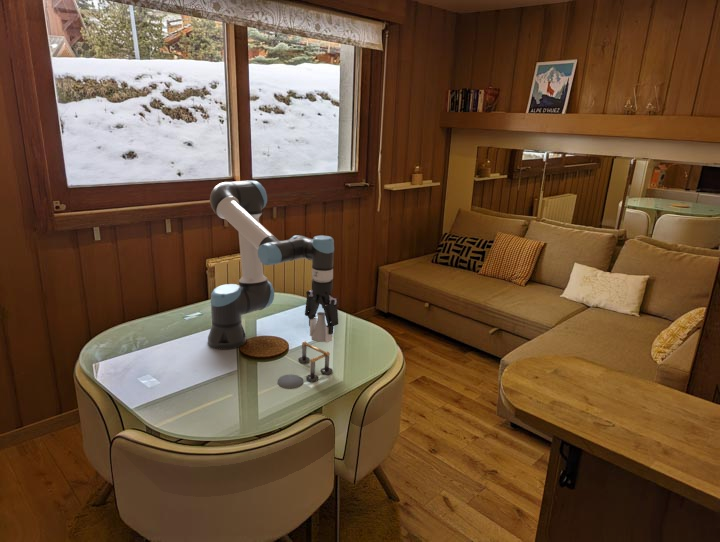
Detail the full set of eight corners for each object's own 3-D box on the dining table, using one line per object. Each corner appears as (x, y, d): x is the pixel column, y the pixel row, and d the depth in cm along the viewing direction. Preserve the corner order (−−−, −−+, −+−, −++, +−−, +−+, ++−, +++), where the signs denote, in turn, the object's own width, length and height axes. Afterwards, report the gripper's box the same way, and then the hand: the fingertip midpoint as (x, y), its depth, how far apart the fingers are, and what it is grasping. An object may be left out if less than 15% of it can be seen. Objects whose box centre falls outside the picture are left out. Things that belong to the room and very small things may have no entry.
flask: (308, 341, 180) (308, 315, 177) (314, 333, 187) (314, 308, 184) (327, 343, 179) (328, 318, 176) (332, 335, 186) (333, 311, 183)
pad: (272, 381, 175) (272, 380, 175) (291, 372, 182) (291, 371, 182) (289, 391, 170) (289, 390, 170) (308, 381, 177) (308, 380, 177)
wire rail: (281, 367, 186) (281, 347, 183) (304, 357, 195) (304, 338, 192) (312, 383, 176) (312, 362, 174) (334, 371, 185) (335, 351, 182)
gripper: (295, 275, 180) (294, 332, 186) (336, 288, 167) (333, 350, 174) (309, 271, 185) (308, 327, 192) (350, 283, 173) (347, 343, 180)
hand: (320, 338), depth 183 cm, fingers closed on flask, 7 cm apart
